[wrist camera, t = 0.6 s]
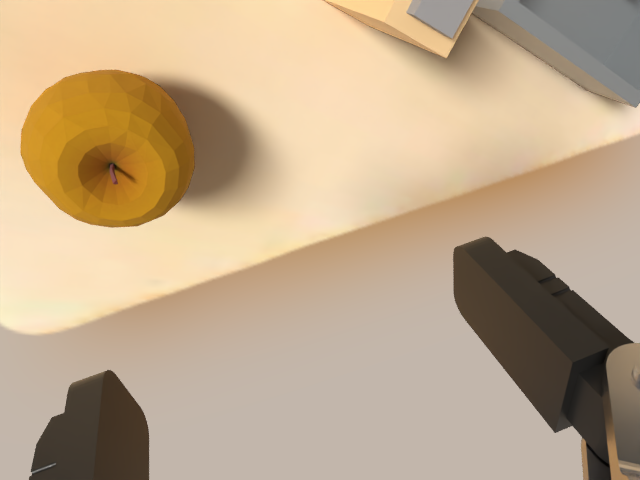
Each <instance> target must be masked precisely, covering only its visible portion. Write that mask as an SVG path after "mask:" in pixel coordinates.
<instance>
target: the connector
mask: <svg viewBox="0 0 640 480" xmlns="http://www.w3.org/2000/svg"><path fill="white" fill-rule="evenodd" d="M324 1H326V2H327V3H329V4H331V5H333V6H335V7H336V8H338V9H340V10H342V11H343V12H345V13H347V14H349V15H350V16H352V17H354V18H356V19H358V20H359V21H361V22H363V23H365V24H366V25H368V26H370V27H373V28H375V29H377V30H380V31H382V32H385V33H387V34H389V35H392V36H394V37H397V38H399V39H401V40H404V41H406V42H409V43H411V44H413V45H416V46H418V47H421V48H423V49H425V50H428V51H430V52H433V53H435V54H437V55H440V56H442V57H445V58H447V56H448V54H449V53H450V51H451V49H452V47H453V46H454V44H455V42H456V40H457V38H458V37H459V35H460V33H461V31H462V29H463V28H464V26H465V24H466V22H467V20H468V19H469V17H470V15H471V13H472V11H473V10H474V8H475V6H476V4H477V2H478V1H479V0H324Z"/></svg>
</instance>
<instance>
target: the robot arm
mask: <svg viewBox="0 0 640 480" xmlns="http://www.w3.org/2000/svg"><path fill="white" fill-rule="evenodd" d="M453 255H454V256H453V262H454V297H455V301H456V304H457V307H458V309H459V311H460V313H461V314H462V316H463V317H464V319H465V320H466V321H467V323H468V324H469V325H470V326H471V328H472V329H473V330H474V331H475V333H476V334H477V335H478V336H479V338H480V339H481V340H482V341H483V343H484V344H485V345H486V347H487V348H488V349H489V350H490V351H491V353H492V354H493V355H494V357H495V358H496V359H497V360H498V362H499V363H500V364H501V365H502V366H503V368H504V369H505V370H506V372H507V373H508V374H509V376H510V377H511V378H512V379H513V380H514V382H515V383H516V384H517V386H518V387H519V388H520V389H521V391H522V392H523V393H524V394H525V396H526V397H527V398H528V399H529V401H530V402H531V403H532V404H533V406H534V407H535V408H536V410H537V411H538V412H539V413H540V415H541V416H542V417H543V418H544V420H545V421H546V422H547V423H548V425H549V426H550V427H551V428H552V430H553V431H554V432H555V433H556V432H558V431H561V430H563V429H565V428H568V427H570V426H573V427H574V428H575V429H576V430H577V431H578V432H579V434H580V435H581V436H582V440H581V452H582V466H583V480H640V343H634V342H633V341H631V340H630V339H628V338H627V337H626V336H625V335H624V334H623V333H621V332H620V331H619V330H618V329H617V328H616V327H615V326H613V325H612V324H611V323H610V322H609V321H608V320H607V319H605V318H604V317H603V316H602V315H600V313H598V312H597V311H596V310H595V309H594V308H593V307H592V306H590V305H589V304H588V303H587V302H586V301H585V300H584V299H582V298H581V297H580V296H579V295H578V294H576V293H575V292H574V291H573V290H572V291H571V290H570V289H569V286H567V285H566V284H565V283H564V282H563V281H562V280H560V279H559V278H556V277H555V274H554V273H552V272H551V271H550V270H549V269H548V268H547V267H546V266H545V265H543V264H542V263H541V262H540V261H539V260H537V259H535V258H533V257H531V256H528V255H526V254H524V253H522V252H519V251H517V250H513V251H510V252H507V253H506V252H505V251H504V250H503V249H502V248H501V247H500V246H499V245H497V244H496V243H495V242H494V241H493V240H492V239H491V238H489V237H483V238H480V239H477V240H474V241H471V242H469V243H466V244H464V245H461V246H457V247H456V248H455V249H454V254H453ZM31 472H32V476H30V477H29V480H149V431H148V425H147V421H146V418H145V415H144V413H143V411H142V409H141V407H140V406H139V405H138V404H137V402H136V401H135V399H134V398H133V397H132V396H131V394H130V393H129V392H128V390H127V389H126V388H125V386H124V385H123V384H122V382H121V381H120V380H119V378H118V377H117V376H116V374H115V373H113V372H112V371H111V370H107V371H105V372H102V373H99V374H96V375H93V376H91V377H88V378H85V379H82V380H80V381H77V382H74V383H72V384H71V385H70V387H69V390H68V394H67V400H66V406H65V412H64V413H63V414H60V415H57V416H55V417H52V418H51V420H50V422H49V423H48V425H47V427H46V429H45V430H44V432H43V434H42V436H41V438H40V439H39V441H38V443H37V445H36V449H35V454H34V459H33V463H32V469H31Z"/></svg>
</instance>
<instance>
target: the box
mask: <svg viewBox="0 0 640 480" xmlns="http://www.w3.org/2000/svg"><path fill="white" fill-rule="evenodd" d="M472 13H473V14H474V15H475V16H477V17H478V18H480V19H481V20H483V21H484V22H486V23H487V24H489V25H490V26H492V27H493V28H495V29H496V30H498V31H499V32H501V33H502V34H504V35H505V36H507V37H508V38H510V39H511V40H513V41H514V42H516V43H517V44H519V45H520V46H522V47H523V48H525V49H526V50H528V51H529V52H531V53H532V54H534V55H535V56H537V57H538V58H539V59H541V60H542V61H544V62H545V63H547V64H548V65H550V66H551V67H553V68H554V69H556V70H557V71H559V72H560V73H562V74H563V75H565V76H566V77H568V78H569V79H571V80H572V81H574V82H575V83H577V84H578V85H580V86H581V87H583V88H584V89H586V90H588V91H590V92H593V93H596V94H599V95H602V96H604V97H607V98H610V99H613V100H616V101H618V102H621V103H624V104H627V105H630V106H633V107H635V108H636V107H637V106H638V104H639V103H640V0H479V1H478V2H477V4H476V6H475V8H474V10H473V11H472Z"/></svg>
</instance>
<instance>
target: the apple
mask: <svg viewBox="0 0 640 480" xmlns="http://www.w3.org/2000/svg"><path fill="white" fill-rule="evenodd" d="M21 156H22V158H23V161H24V164H25V167H26V170H27V171H28V173H29V174H30V176H31V177H32V179H33V180H34V182H35V183H36V184H37V185H38V186H39V187H40V189H41V190H42V191H43V192H44V193H45V194H46V195H47V196H48V197H49V198H50V199H51V200H52V201H53V202H54V203H55V205H56V206H57V207H58V208H59V209H61V210H62V211H64V212H65V213H67V214H69V215H70V216H72V217H73V218H75V219H77V220H79V221H82V222H85V223H88V224H91V225H98V226H105V227H130V226H139V225H141V224H144V223H146V222H149V221H152V220H154V219H156V218H159V217H161V216H163V215H165V214H166V213H167V212H168V211H169V210H170V209H171V208H172V207H173V206H175V205H176V204H177V203H178V202H179V200H180V199H181V198H182V197H183V195H184V194H185V192H186V190H187V189H188V187H189V184H190V181H191V177H192V174H193V171H194V167H195V166H194V146H193V143H192V140H191V136H190V133H189V130H188V126H187V123H186V120H185V118H184V117H183V115H182V113H181V112H180V110H179V108H178V107H177V105H176V103H175V102H174V100H173V99H172V98H171V97H170V96H169V95H168V94H167V93H166V92H165V91H164V90H163V89H162V88H161V87H160V86H159V85H157V84H155V83H154V82H152V81H150V80H149V79H147V78H145V77H142V76H140V75H137V74H133V73H128V72H124V71H120V70H99V71H92V72H85V73H79V74H75V75H72V76H68V77H65V78H63V79H62V80H60V81H59V82H57V83H56V84H54V85H53V86H51V87H49V88H47V89H46V90H45V91H44V92H43V93H42V94H41V95H40V97H39V98H38V99H37V100H36V101H35V102H34V103H33V105H32V106H31V108H30V110H29V113H28V115H27V118H26V120H25V123H24V125H23V128H22V133H21Z"/></svg>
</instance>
